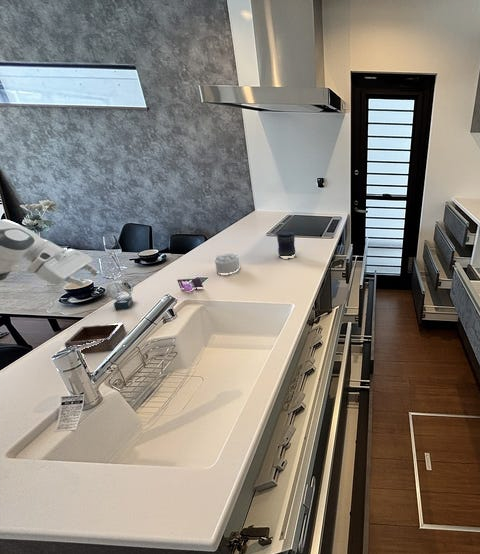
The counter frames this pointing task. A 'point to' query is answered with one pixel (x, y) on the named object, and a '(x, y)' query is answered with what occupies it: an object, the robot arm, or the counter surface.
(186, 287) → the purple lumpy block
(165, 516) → the counter surface
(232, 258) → the lumpy-topped squat cylinder
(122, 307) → the watch
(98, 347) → the box
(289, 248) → the storage jar
